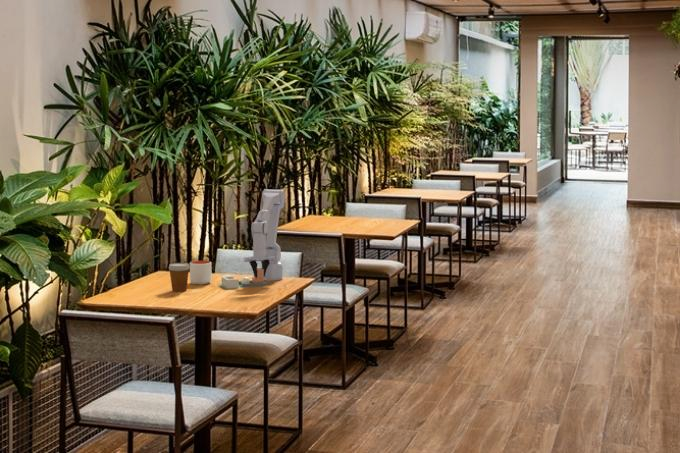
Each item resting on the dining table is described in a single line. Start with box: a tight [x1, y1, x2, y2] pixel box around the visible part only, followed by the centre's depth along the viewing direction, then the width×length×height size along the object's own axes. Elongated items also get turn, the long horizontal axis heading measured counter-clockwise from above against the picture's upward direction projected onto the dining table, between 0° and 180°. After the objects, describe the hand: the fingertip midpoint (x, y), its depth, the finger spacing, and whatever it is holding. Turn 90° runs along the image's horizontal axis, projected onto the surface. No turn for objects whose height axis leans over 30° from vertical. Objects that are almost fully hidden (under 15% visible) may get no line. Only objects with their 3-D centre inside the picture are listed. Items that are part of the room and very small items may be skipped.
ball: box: [240, 276, 250, 284], centre depth 466 cm, size 4×4×4 cm
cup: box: [189, 260, 212, 285], centre depth 476 cm, size 10×10×10 cm
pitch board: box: [217, 275, 269, 290], centre depth 468 cm, size 21×14×5 cm, turn 113°
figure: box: [251, 267, 265, 283], centre depth 468 cm, size 4×5×7 cm
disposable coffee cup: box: [168, 262, 190, 293], centre depth 457 cm, size 10×10×12 cm
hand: (259, 276), depth 469 cm, fingers open, 3 cm apart
